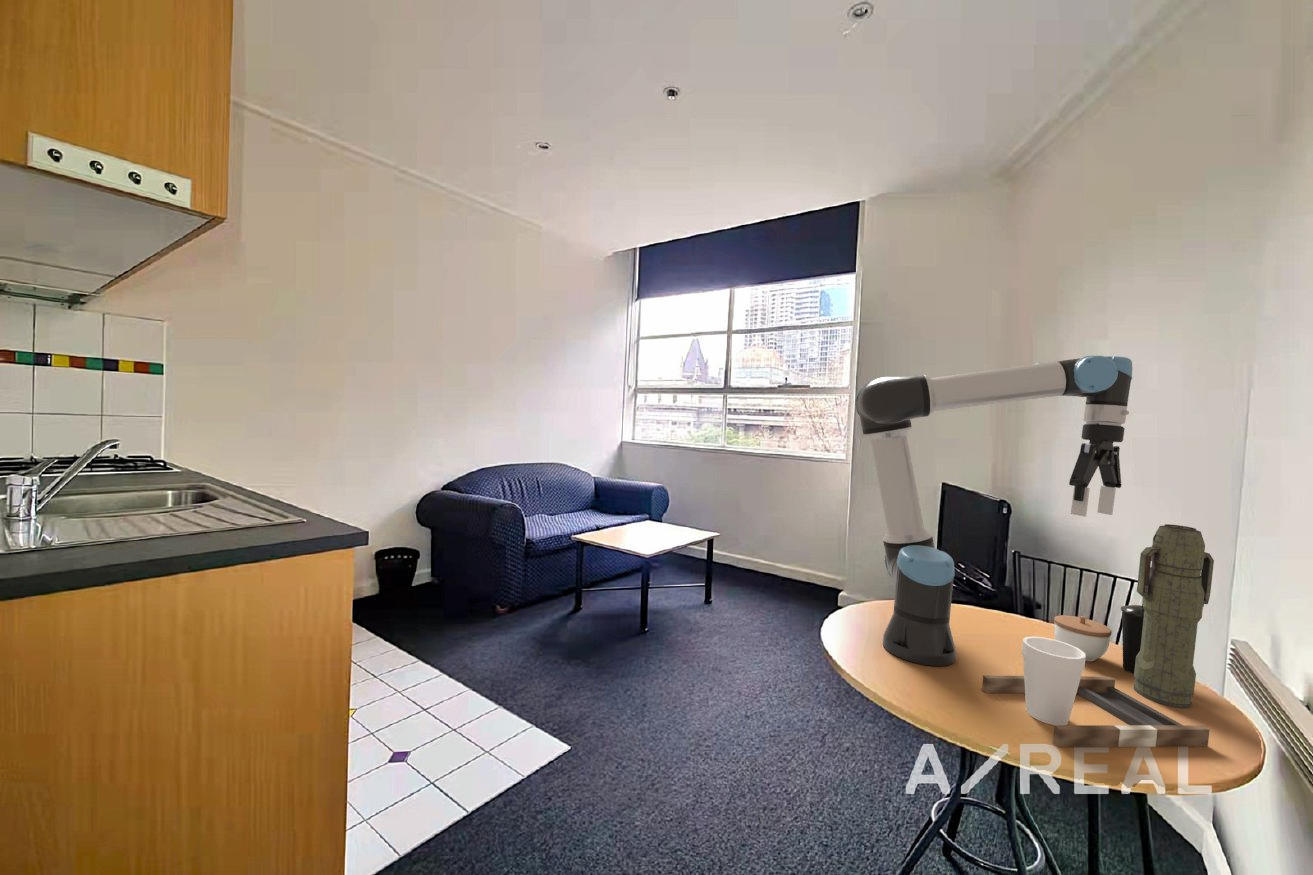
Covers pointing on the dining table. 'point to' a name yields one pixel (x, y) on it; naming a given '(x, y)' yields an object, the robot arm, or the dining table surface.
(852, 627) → the dining table surface
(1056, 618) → the lidded jar
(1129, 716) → the lane
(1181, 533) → the thermos
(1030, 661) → the foam cup
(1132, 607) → the drinking cup
